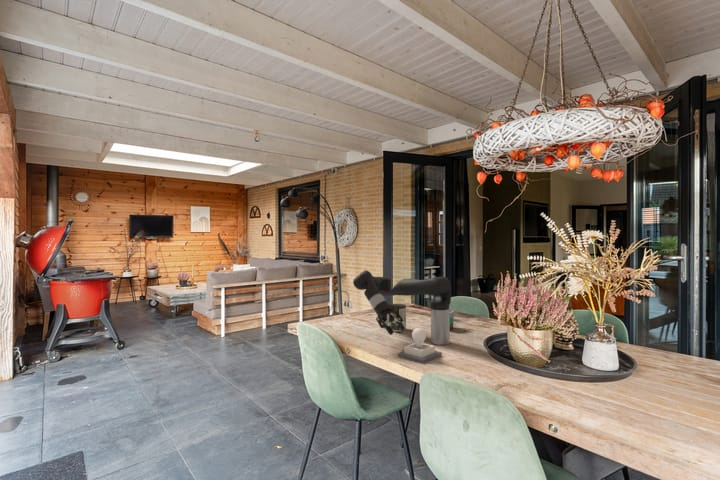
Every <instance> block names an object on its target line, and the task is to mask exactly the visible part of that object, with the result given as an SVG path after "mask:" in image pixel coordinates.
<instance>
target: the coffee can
mask: <svg viewBox="0 0 720 480" xmlns="http://www.w3.org/2000/svg"><path fill="white" fill-rule="evenodd" d="M389 306H390V307H391V311H392V312H393V313H394V312H395V311H397V312H398V313H399V315H400V316H401V317H402V319H403V321H402V324H403V326H404V327H405V330H404V331H405V332H406V330H407V305H406V304H404V303H392V304H389ZM394 320H395V318H394ZM399 320H400V318H399ZM397 322H398V321H397ZM389 326H390V327H391V329H392V330H393V332H397V333H399V332H402V331H401V329H400V328H399V326H398V325H397V324H396V323H393V322H391V323H389ZM404 331H403V332H404Z"/></svg>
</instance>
